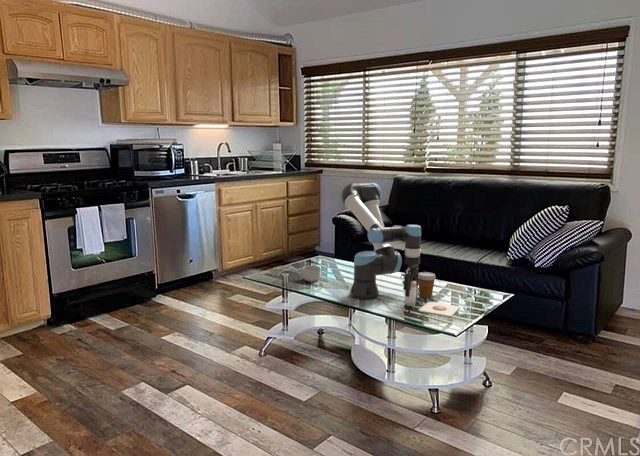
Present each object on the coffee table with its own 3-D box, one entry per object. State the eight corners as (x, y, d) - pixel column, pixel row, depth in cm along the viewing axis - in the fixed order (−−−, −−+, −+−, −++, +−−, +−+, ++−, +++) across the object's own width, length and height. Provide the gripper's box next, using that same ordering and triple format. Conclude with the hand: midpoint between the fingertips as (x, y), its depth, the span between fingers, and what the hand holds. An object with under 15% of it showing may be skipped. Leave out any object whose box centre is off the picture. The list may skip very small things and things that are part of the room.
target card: (418, 311, 238) (418, 309, 238) (428, 302, 252) (428, 301, 252) (451, 317, 230) (451, 315, 230) (460, 307, 244) (460, 306, 244)
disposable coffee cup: (417, 298, 259) (418, 276, 257) (416, 292, 268) (417, 271, 266) (435, 299, 258) (436, 276, 256) (433, 293, 267) (435, 272, 265)
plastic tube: (403, 304, 248) (404, 281, 246) (407, 302, 252) (408, 279, 250) (413, 306, 245) (414, 283, 243) (416, 303, 249) (417, 280, 247)
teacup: (320, 278, 296) (320, 265, 295) (320, 283, 286) (320, 269, 284) (297, 277, 297) (297, 264, 295) (296, 282, 286) (296, 269, 285)
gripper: (412, 260, 234) (410, 307, 238) (426, 253, 251) (424, 296, 255) (397, 259, 238) (395, 304, 241) (412, 251, 255) (410, 293, 259)
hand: (410, 300), depth 248 cm, fingers open, 8 cm apart
